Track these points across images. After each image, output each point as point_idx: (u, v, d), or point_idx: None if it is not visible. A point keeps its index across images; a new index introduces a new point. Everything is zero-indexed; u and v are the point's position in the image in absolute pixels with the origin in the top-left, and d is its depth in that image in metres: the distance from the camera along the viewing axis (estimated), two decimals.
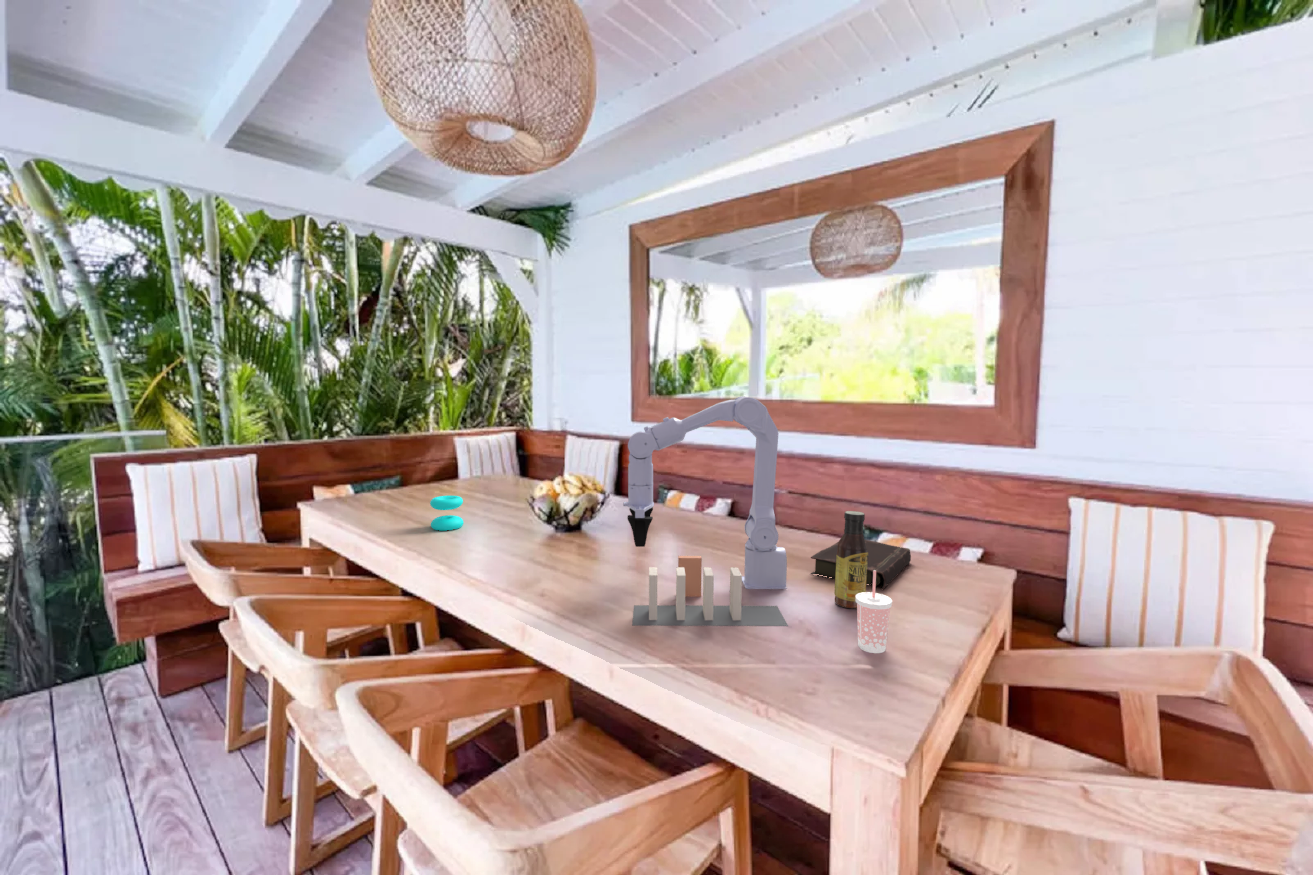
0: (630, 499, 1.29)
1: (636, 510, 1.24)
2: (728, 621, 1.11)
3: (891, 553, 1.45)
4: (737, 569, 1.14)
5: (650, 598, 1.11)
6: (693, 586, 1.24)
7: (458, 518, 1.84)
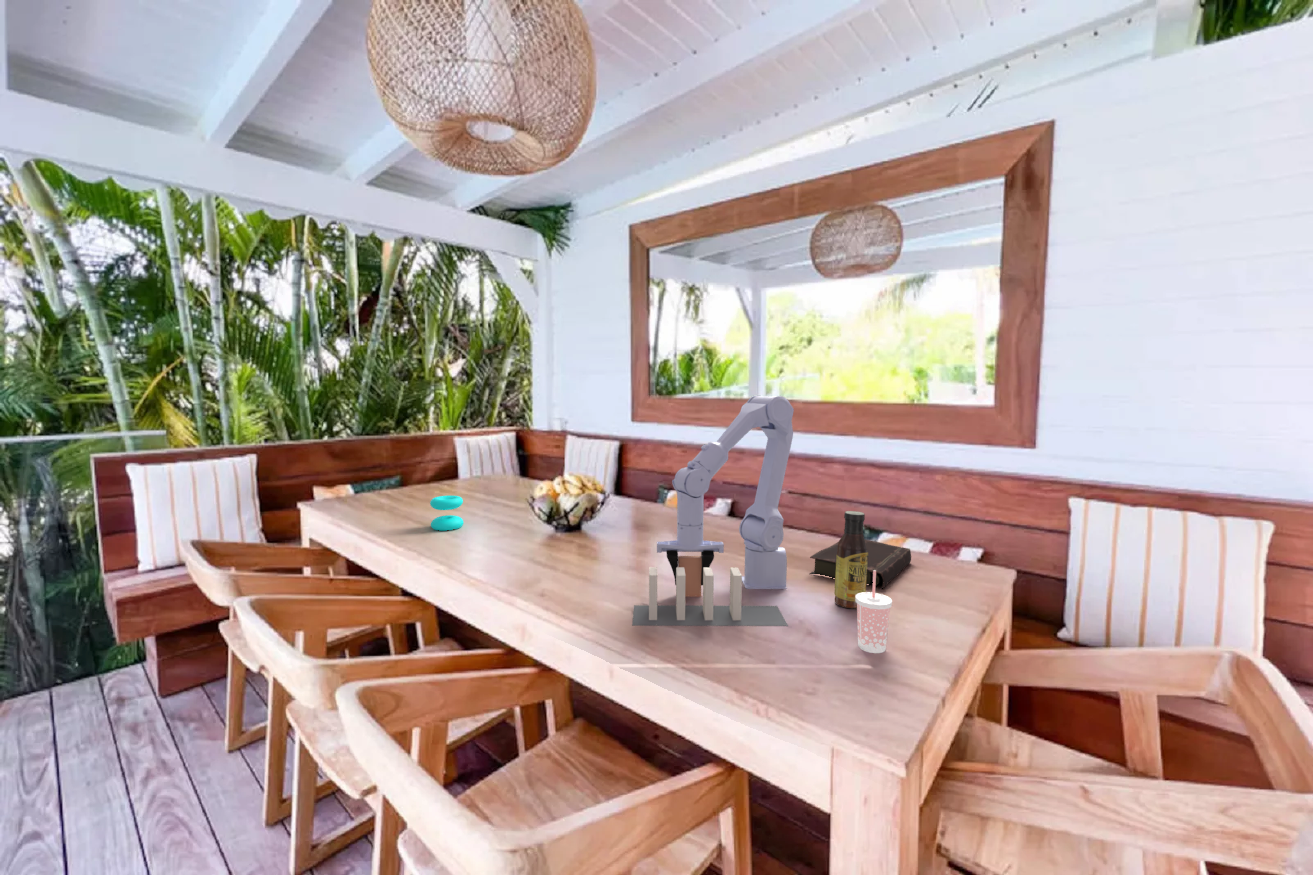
0: None
1: None
2: (728, 621, 1.11)
3: (891, 553, 1.45)
4: (737, 569, 1.14)
5: (650, 598, 1.11)
6: (693, 586, 1.24)
7: (458, 518, 1.84)
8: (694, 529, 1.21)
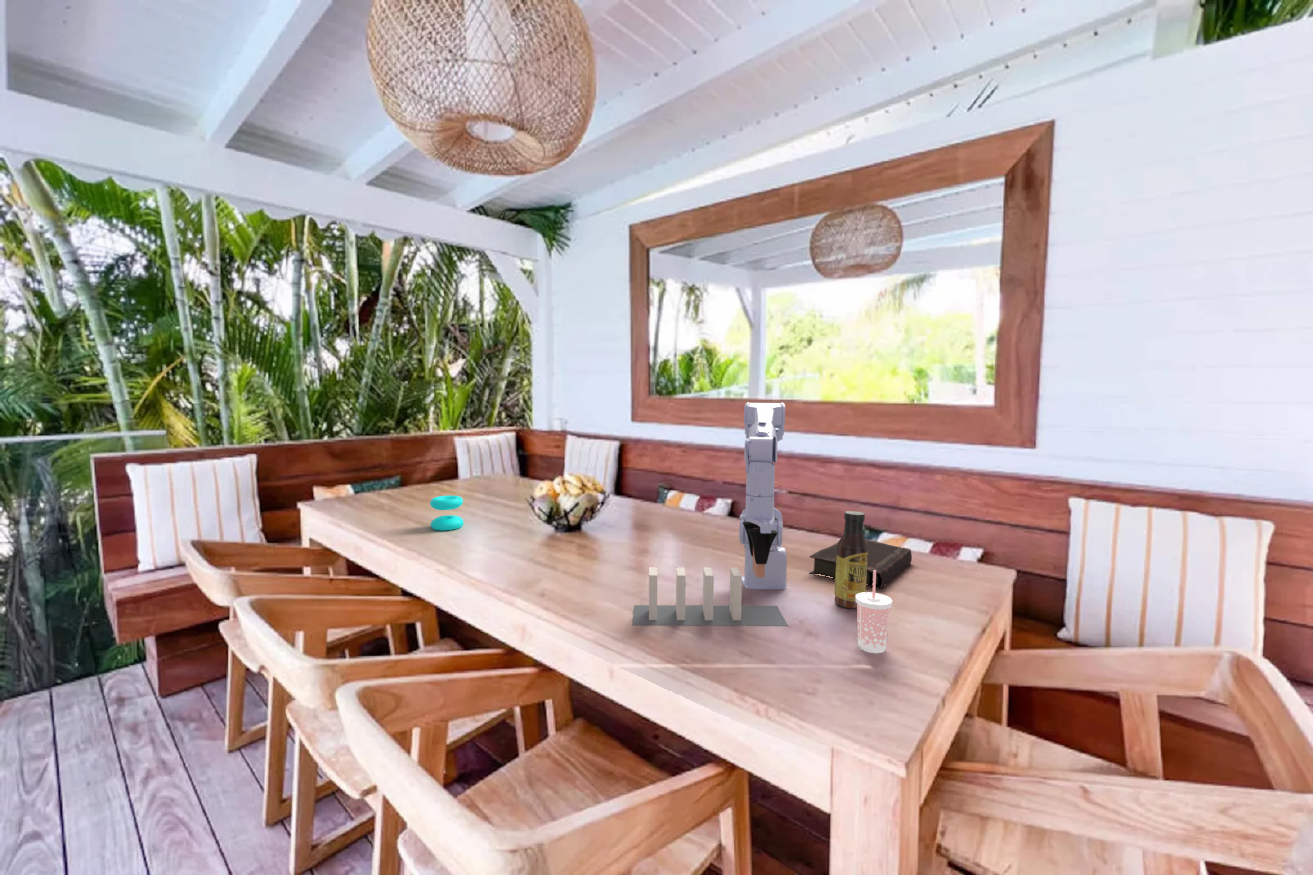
0: (749, 512, 1.15)
1: (762, 524, 1.10)
2: (728, 621, 1.11)
3: (891, 553, 1.45)
4: (737, 569, 1.14)
5: (650, 598, 1.11)
6: None
7: (458, 518, 1.84)
8: None
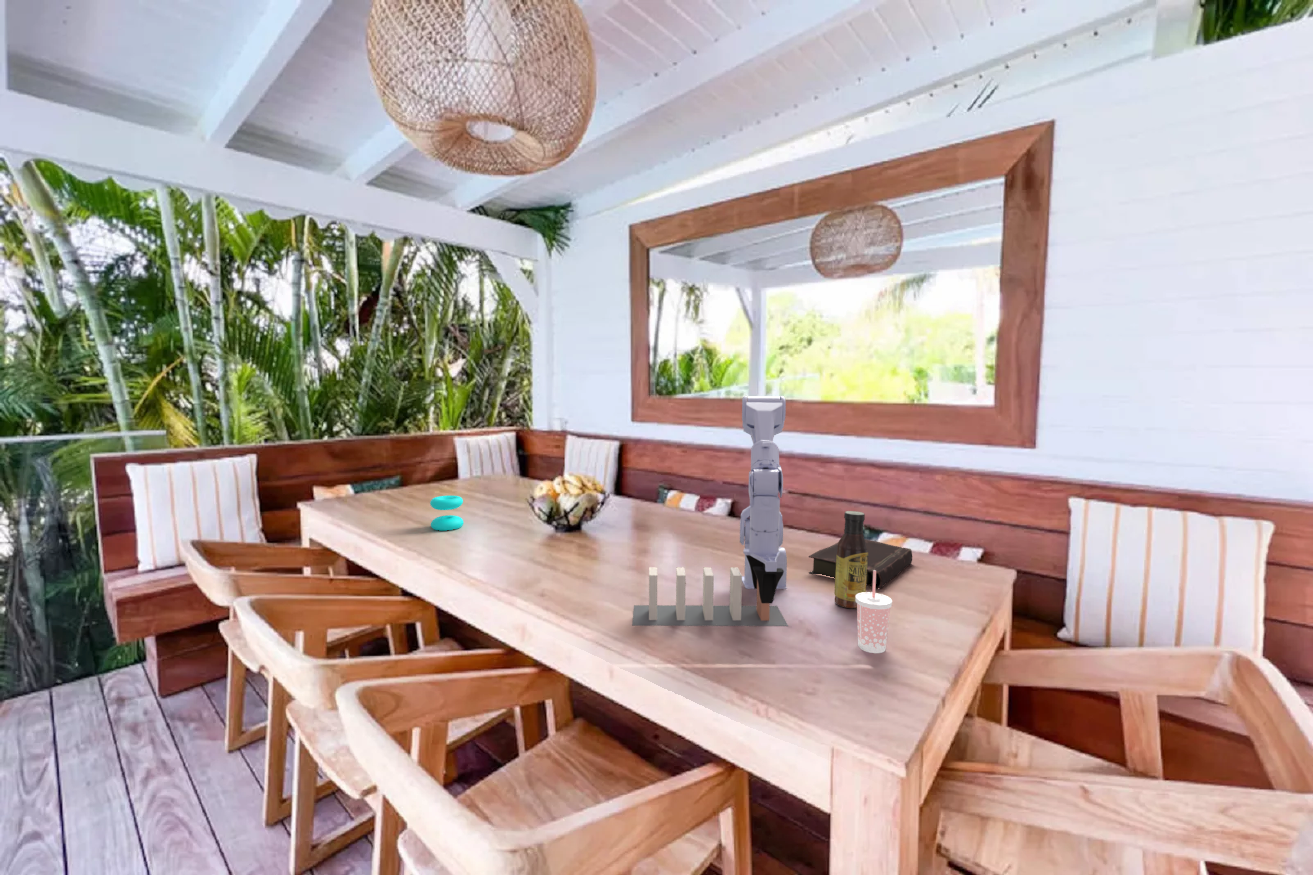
0: (754, 547, 1.11)
1: (767, 562, 1.06)
2: (728, 621, 1.11)
3: (891, 553, 1.45)
4: (737, 569, 1.14)
5: (650, 598, 1.11)
6: None
7: (458, 518, 1.84)
8: None
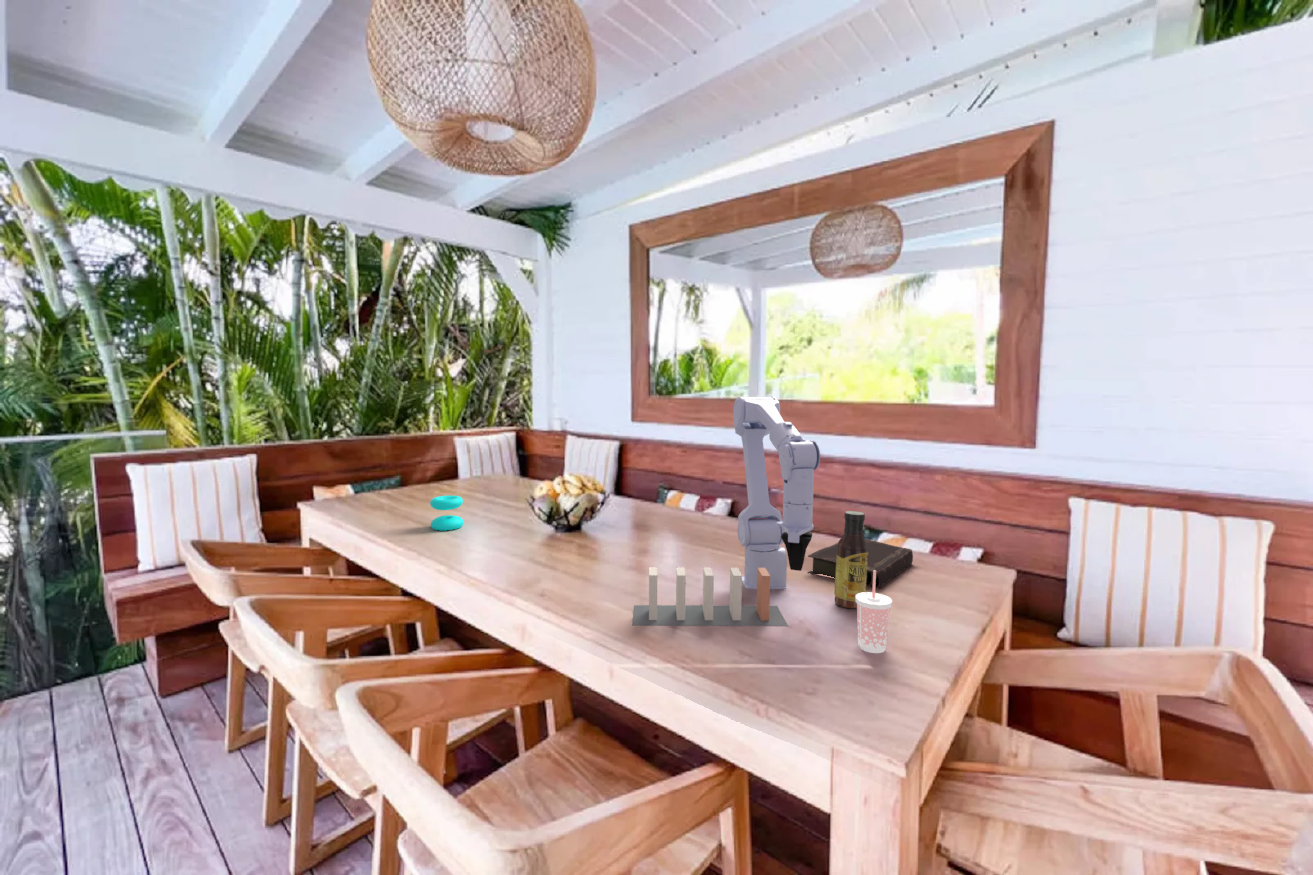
0: (784, 519, 1.11)
1: (789, 533, 1.06)
2: (728, 621, 1.11)
3: (891, 553, 1.45)
4: (737, 569, 1.14)
5: (650, 598, 1.11)
6: None
7: (458, 518, 1.84)
8: None
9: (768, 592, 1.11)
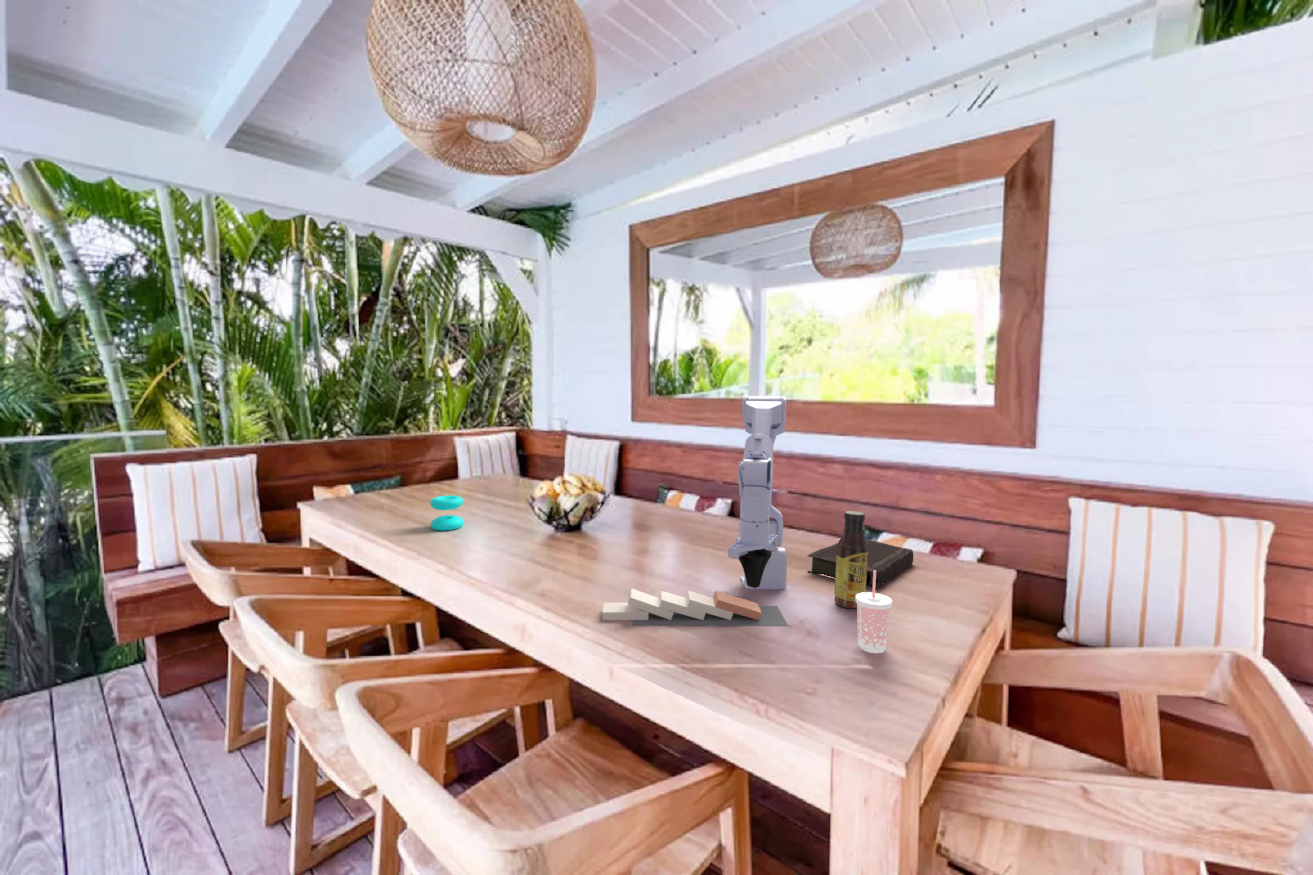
0: None
1: (729, 548, 1.08)
2: (728, 621, 1.11)
3: (892, 553, 1.45)
4: (687, 593, 1.15)
5: (626, 618, 1.11)
6: (746, 602, 1.14)
7: (458, 518, 1.84)
8: (768, 524, 1.11)
9: (733, 606, 1.11)
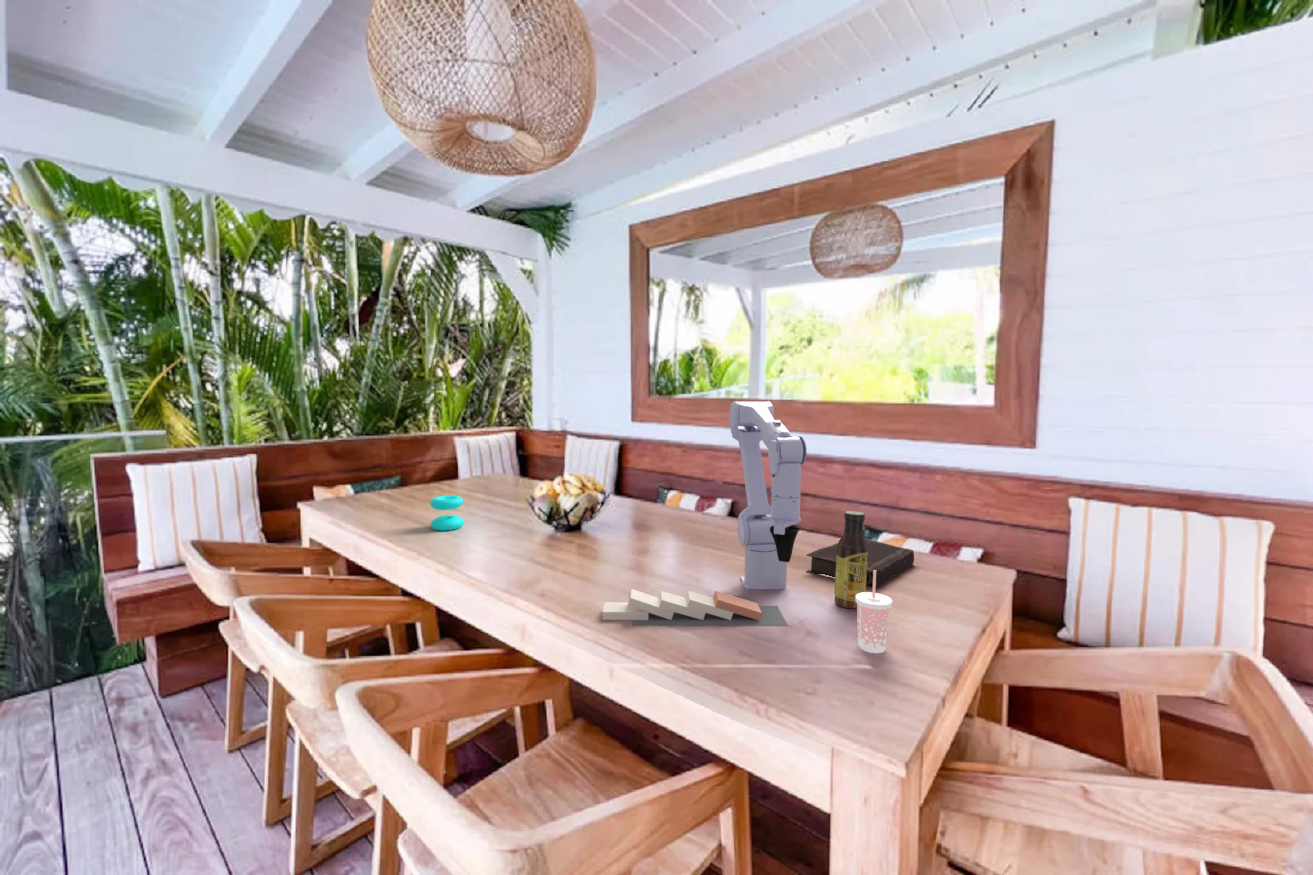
0: (772, 512, 1.15)
1: (775, 525, 1.10)
2: (728, 621, 1.11)
3: (892, 554, 1.45)
4: (687, 593, 1.15)
5: (626, 618, 1.11)
6: (746, 602, 1.14)
7: (458, 518, 1.84)
8: None
9: (733, 606, 1.11)
